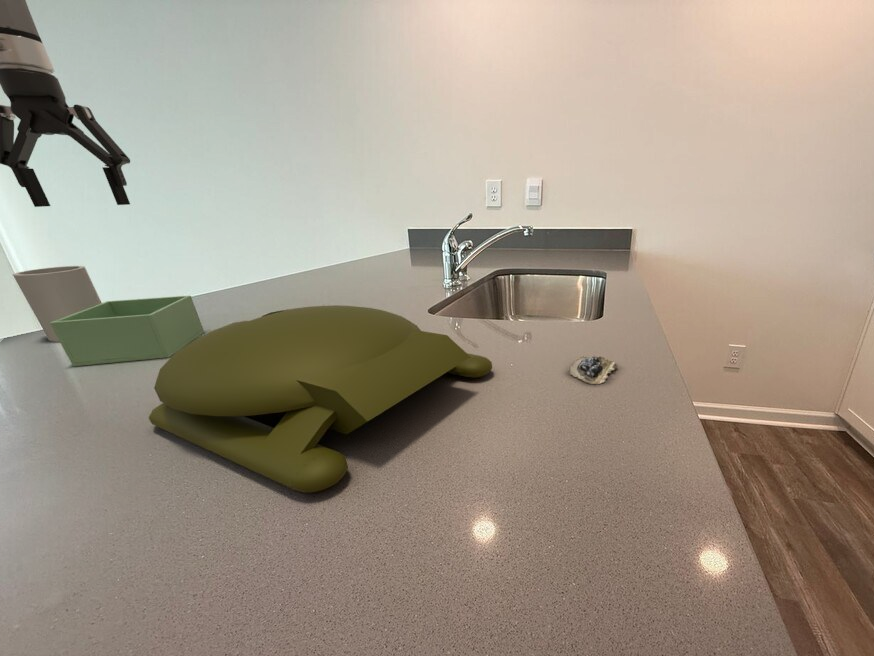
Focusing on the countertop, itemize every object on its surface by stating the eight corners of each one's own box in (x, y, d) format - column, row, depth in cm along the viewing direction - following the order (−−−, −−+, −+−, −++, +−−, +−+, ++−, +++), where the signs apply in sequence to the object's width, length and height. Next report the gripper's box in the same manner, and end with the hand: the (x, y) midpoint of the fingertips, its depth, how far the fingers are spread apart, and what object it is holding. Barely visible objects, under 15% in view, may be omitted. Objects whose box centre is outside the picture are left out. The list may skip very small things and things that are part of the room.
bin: (72, 366, 63) (49, 322, 60) (124, 339, 75) (106, 301, 72) (169, 357, 66) (151, 315, 63) (204, 332, 78) (190, 295, 74)
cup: (110, 334, 78) (80, 270, 72) (43, 345, 73) (5, 277, 68) (115, 323, 84) (88, 264, 79) (54, 332, 79) (20, 270, 74)
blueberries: (616, 362, 60) (617, 350, 59) (621, 385, 53) (622, 372, 52) (570, 360, 61) (570, 348, 60) (569, 383, 54) (569, 370, 53)
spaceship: (499, 371, 58) (496, 303, 54) (315, 508, 34) (283, 405, 29) (331, 337, 73) (318, 282, 69) (120, 415, 49) (80, 338, 45)
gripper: (-89, 63, 65) (-11, 208, 74) (94, 68, 69) (145, 204, 78) (-42, 74, 71) (24, 206, 80) (122, 79, 76) (166, 203, 85)
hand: (84, 205), depth 79 cm, fingers open, 13 cm apart
